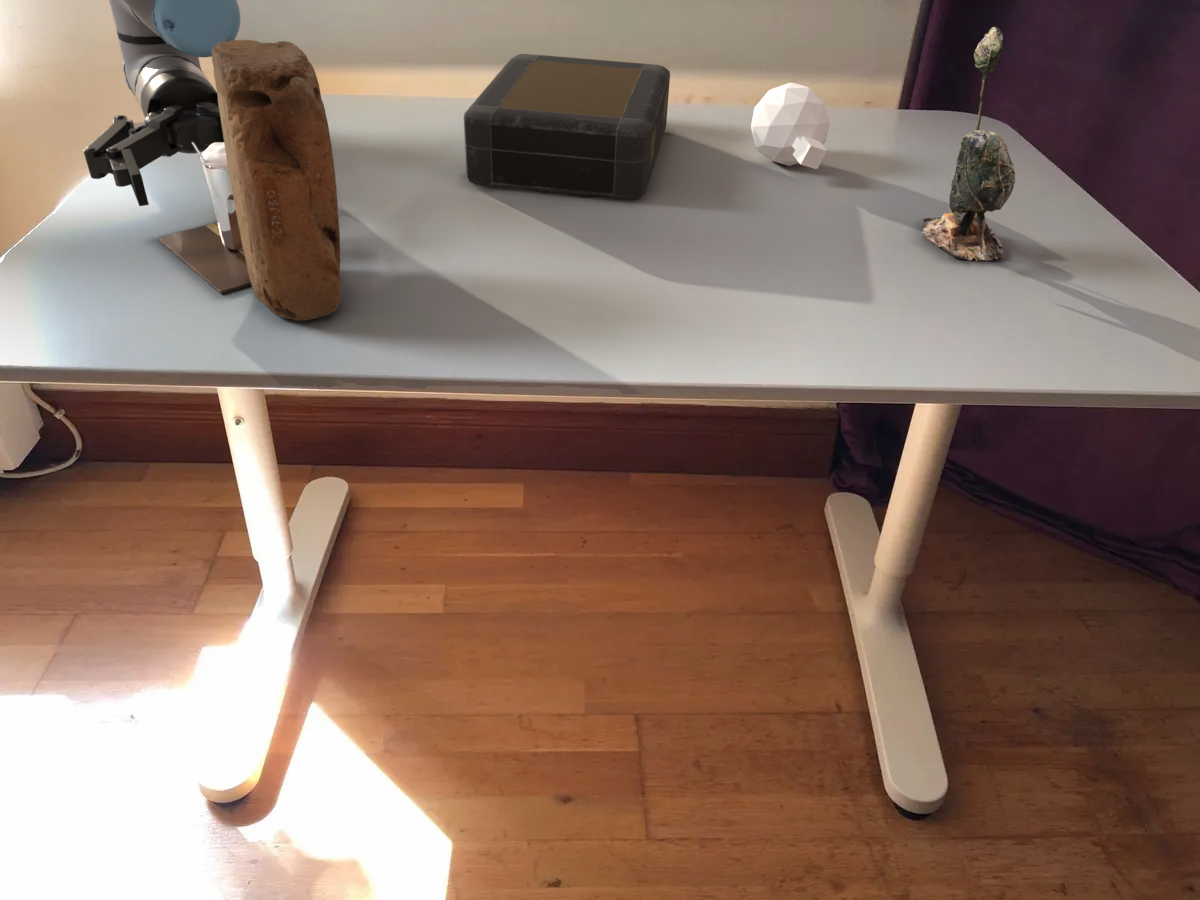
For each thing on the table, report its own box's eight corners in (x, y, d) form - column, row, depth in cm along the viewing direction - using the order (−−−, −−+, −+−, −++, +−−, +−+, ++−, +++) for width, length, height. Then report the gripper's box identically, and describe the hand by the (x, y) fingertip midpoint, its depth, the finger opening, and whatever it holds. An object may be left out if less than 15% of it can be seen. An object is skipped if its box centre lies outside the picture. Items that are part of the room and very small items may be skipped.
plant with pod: (917, 264, 92) (974, 45, 79) (920, 219, 100) (972, 15, 88) (1005, 278, 90) (1078, 56, 78) (1000, 231, 99) (1065, 25, 87)
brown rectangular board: (158, 240, 89) (157, 236, 89) (258, 214, 95) (257, 210, 95) (221, 294, 81) (220, 290, 81) (326, 262, 87) (326, 258, 87)
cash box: (509, 113, 122) (508, 50, 118) (666, 127, 120) (672, 63, 116) (457, 186, 103) (453, 113, 98) (644, 204, 101) (649, 131, 96)
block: (245, 272, 84) (200, 33, 71) (331, 260, 87) (302, 28, 74) (264, 334, 76) (218, 80, 64) (358, 319, 79) (331, 72, 67)
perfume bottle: (727, 133, 114) (762, 183, 106) (763, 59, 108) (803, 106, 100) (787, 151, 117) (825, 200, 109) (824, 80, 112) (868, 127, 104)
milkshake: (197, 244, 88) (177, 135, 82) (248, 229, 91) (233, 124, 85) (225, 260, 85) (207, 149, 80) (276, 244, 89) (263, 137, 83)
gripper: (309, 128, 105) (368, 198, 90) (57, 158, 95) (79, 243, 80) (298, 56, 100) (359, 118, 86) (33, 81, 90) (51, 155, 76)
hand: (224, 178), depth 83 cm, fingers open, 13 cm apart
